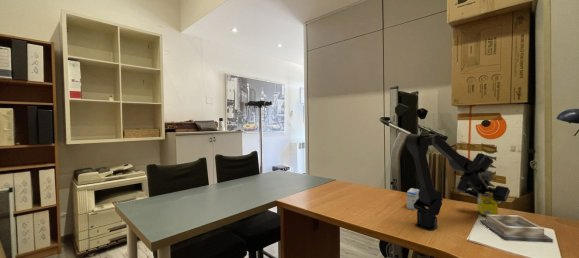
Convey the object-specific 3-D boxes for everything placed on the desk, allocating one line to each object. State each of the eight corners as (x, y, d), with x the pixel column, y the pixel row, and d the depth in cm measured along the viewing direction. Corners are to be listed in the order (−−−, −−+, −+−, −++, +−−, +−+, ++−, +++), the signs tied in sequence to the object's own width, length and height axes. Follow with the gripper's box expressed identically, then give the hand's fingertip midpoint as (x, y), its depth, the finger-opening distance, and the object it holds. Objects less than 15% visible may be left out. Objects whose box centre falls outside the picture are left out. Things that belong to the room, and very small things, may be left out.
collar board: (504, 240, 88) (504, 228, 88) (480, 222, 103) (479, 213, 103) (552, 242, 85) (552, 230, 85) (520, 224, 100) (520, 214, 100)
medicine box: (410, 204, 128) (410, 187, 128) (419, 205, 125) (419, 189, 125) (406, 208, 122) (406, 191, 122) (416, 210, 119) (416, 193, 119)
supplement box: (498, 218, 107) (497, 193, 106) (481, 216, 109) (481, 192, 109) (493, 213, 112) (493, 189, 112) (477, 211, 115) (477, 188, 114)
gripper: (507, 168, 100) (521, 190, 105) (459, 162, 117) (473, 181, 122) (498, 190, 97) (512, 212, 102) (450, 180, 114) (464, 199, 119)
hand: (488, 199), depth 111 cm, fingers closed on supplement box, 8 cm apart
